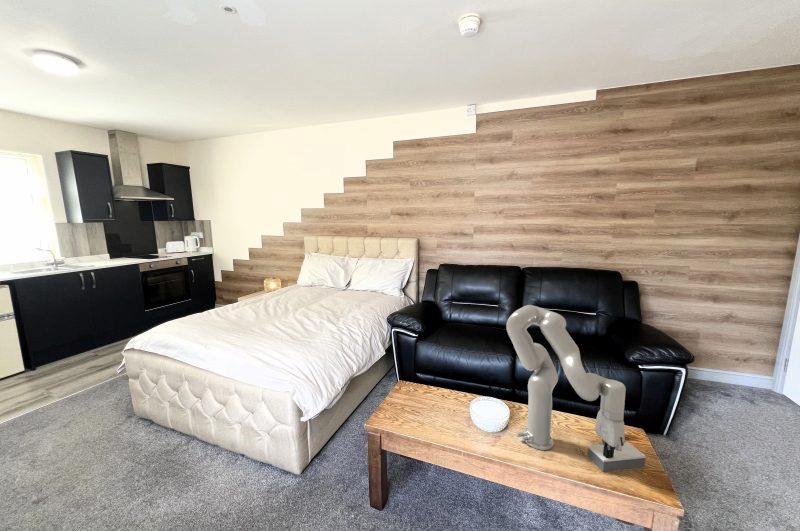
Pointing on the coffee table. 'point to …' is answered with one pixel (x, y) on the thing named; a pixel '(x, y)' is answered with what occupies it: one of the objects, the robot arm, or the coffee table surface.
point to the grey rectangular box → (616, 463)
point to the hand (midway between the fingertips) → (608, 456)
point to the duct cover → (618, 453)
